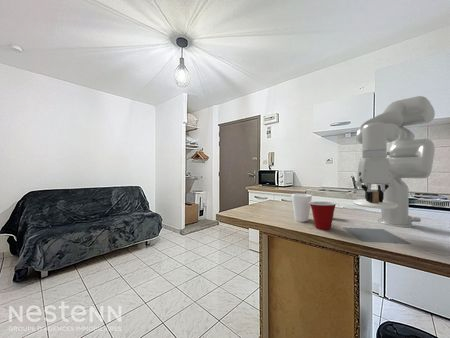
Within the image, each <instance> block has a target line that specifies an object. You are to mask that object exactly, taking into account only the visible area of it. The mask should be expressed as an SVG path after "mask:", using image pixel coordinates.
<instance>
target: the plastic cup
mask: <svg viewBox="0 0 450 338" xmlns="http://www.w3.org/2000/svg"><path fill="white" fill-rule="evenodd" d="M309 204H310V210H311V211H312V217H313V221H314V222H313V223H314V227H315V228H316V229H317V230H321V231H329V230H331V229H332V228H331V227H332V223H333V220H334V215H335V214H334V212H335V208H336V205H337V204H338V203H337V202H333V201H311V202H309ZM333 214H334V215H333Z"/></svg>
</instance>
